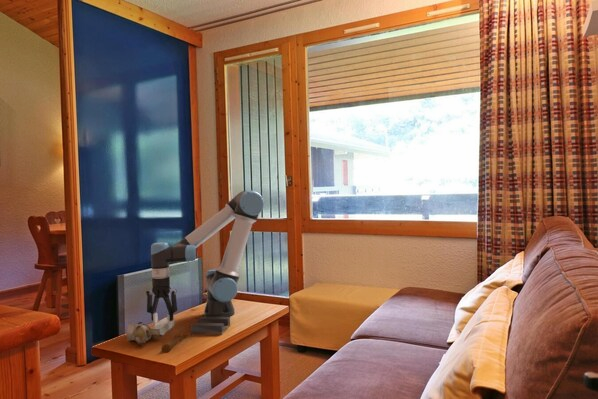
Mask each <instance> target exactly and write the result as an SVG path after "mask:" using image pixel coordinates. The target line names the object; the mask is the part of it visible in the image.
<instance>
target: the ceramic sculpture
mask: <svg viewBox="0 0 598 399" xmlns="http://www.w3.org/2000/svg"><path fill="white" fill-rule="evenodd" d="M151 328H152V327H151V326H150V325H148V324H144V323H143V322H142V321H139V322H137V323H132V322H129V323H128V326H127V329H126V333H125V334H126V339H127V340H128V341H129V342H132V341H135V343H136V344H137V345H138V346H139V345H140V346H143V345H145V344H146V342H148V341H149V340H150V339H153V340H156V339H159V338H161V337H163V336H164V335H160V334H158V333H157V332H155V331H152V330H151Z"/></svg>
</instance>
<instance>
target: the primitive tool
mask: <svg viewBox="0 0 598 399" xmlns="http://www.w3.org/2000/svg"><path fill="white" fill-rule="evenodd" d="M187 337H188V335H187V334H178V335H175V336H174V337H173V338H172V339H171V340H170V341H168V342H167V343H164V344H162V346H161V352H162V353H170V352H171V349H173V348H174V347H175V346H176V345H178V344H179V343H181V342H182V341H184V339H186V338H187Z"/></svg>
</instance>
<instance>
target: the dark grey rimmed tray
mask: <svg viewBox="0 0 598 399" xmlns="http://www.w3.org/2000/svg"><path fill="white" fill-rule="evenodd" d="M230 327H231V316H230V317H205V316H200V317H199V318H198V322H193V323H192V324H190V335H206V336H207V335H209V336H210V335H213V336H217V335H218V336H222V335H223V334H224V333H225V332H226V331H227V330H228V329H230Z"/></svg>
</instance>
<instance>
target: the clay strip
mask: <svg viewBox="0 0 598 399" xmlns="http://www.w3.org/2000/svg"><path fill="white" fill-rule="evenodd" d="M173 318H174V319H173V320H172V327H171V328H170V329H168V321H167V317H163V318H162V319H160V321H158V323H157V324H156V325H153V326H152V327H150V328H151V330H152V331H155V332H157V333H158V334H160V335H163V336H164V335H165V334H167V332H168V331H170V330H171V329H172V328H173V327H174V326H175V317H174V316H173Z"/></svg>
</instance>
